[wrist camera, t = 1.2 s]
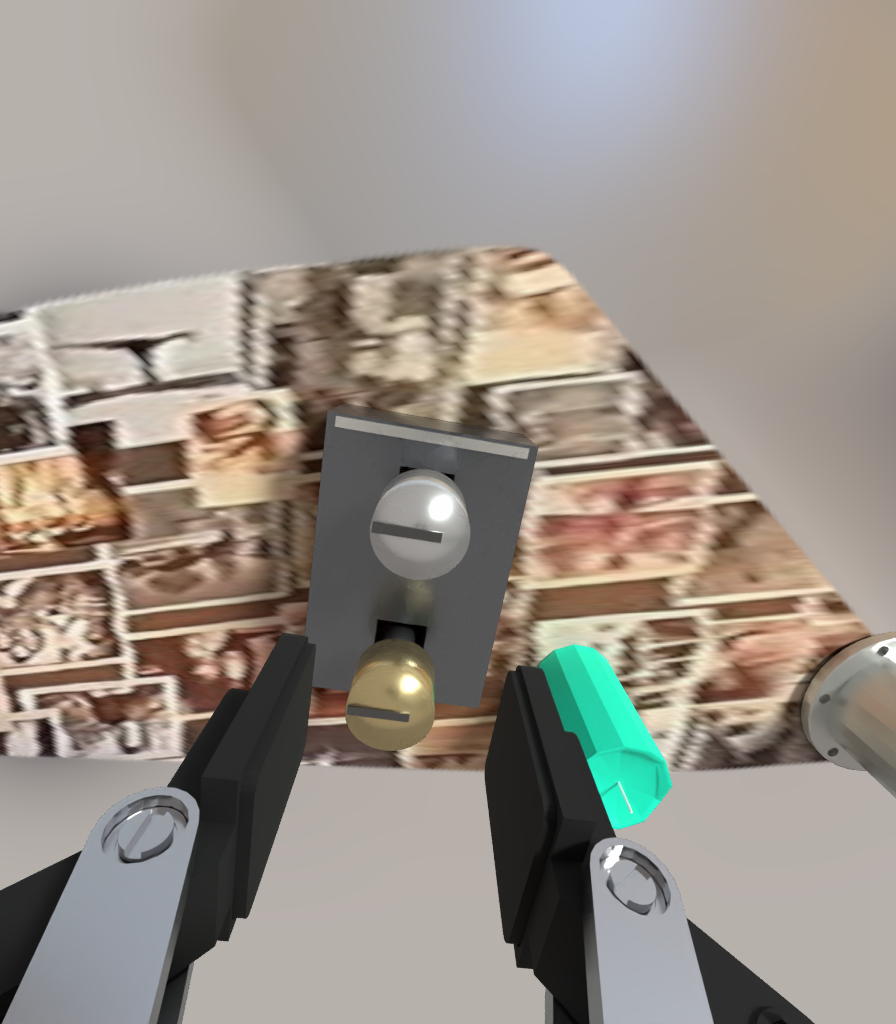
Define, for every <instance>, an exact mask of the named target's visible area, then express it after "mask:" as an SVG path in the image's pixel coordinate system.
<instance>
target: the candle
mask: <svg viewBox="0 0 896 1024" xmlns="http://www.w3.org/2000/svg"><path fill="white" fill-rule="evenodd" d="M539 668H541V669H543V671H544V673H545V676H546V679H547V682H548V685H549V687H550V690H551V693H552V696H553V699H554V702H555V704H556V707H557V710H558V713H559V716H560V719H561V721H562V724H563V727H564V730H565V731H569V732H574V733H575V734H576V735H577V737H578V739H579V741H580V744H581V746H582V749H583V752H584V754H585V757H586V759H587V762H588V765H589V767H590V770H591V772H592V775H593V778H594V780H595V783H596V786H597V788H598V791H599V793H600V796H601V799H602V801H603V804H604V807H605V809H606V812H607V814H608V817H609V820H610V822H611V825H612V828H613V829H622V828H625V827H628V826H631V825H635V824H638V823H641V822H644V820H645V819H646V818H647V817H648V816H649V815H650V813H651V812H652V811H653V810H654V809H655V808H656V807H657V805H658V804H659V803H660V801H662V799H663V798H664V797H665V795H666V794H667V792H668V791H669V790H670V788H671V787H672V782H671V779H670V775H669V772H668V768H667V764H666V761H665V760H664V758H663V756H662V754H661V753H660V751H659V749H658V748H657V746H656V744H655V742H654V741H653V739H652V737H651V735H650V734H649V732H648V730H647V729H646V727H645V725H644V723H643V722H642V720H641V718H640V716H639V715H638V713H637V711H636V709H635V708H634V706H633V704H632V703H631V701H630V699H629V697H628V696H627V694H626V692H625V690H624V689H623V687H622V685H621V684H620V682H619V680H618V678H617V677H616V675H615V673H614V671H613V670H612V668H611V666H610V664H609V663H608V661H607V659H605V658H604V657H603V656H602V655H601V654H600V653H598V652H597V651H596V650H595V649H594V648H590V647H585V646H580V645H571V646H567V647H564V648H560V649H556V650H554V651H553V652H552V653H551V654H550V655H549V656H547V657H546V658H545V659H544V660H543V661H542V662H541V663H540V665H539Z"/></svg>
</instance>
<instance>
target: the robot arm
mask: <svg viewBox="0 0 896 1024" xmlns="http://www.w3.org/2000/svg"><path fill="white" fill-rule="evenodd" d="M315 654H316V644H311V643H308V636H302V635H294V634H287V633H283V634H282V635H281V637H280V638H279V640H278V642H277V644H276V645H275V647H274V649H273V651H272V652H271V654H270V656H269V658H268V659H267V661H266V663H265V665H264V667H263V668H262V670H261V672H260V674H259V675H258V677H257V679H256V681H255V682H254V684H253V686H252V688H251V689H250V691H249V690H241V689H234V688H232V689H230V690H229V691H228V692H227V693H226V695H225V696H224V698H223V699H222V701H221V702H220V704H219V705H218V707H217V709H216V710H215V712H214V713H213V715H212V717H211V718H210V720H209V721H208V723H207V724H206V726H205V728H204V729H203V731H202V732H201V734H200V735H199V737H198V739H197V740H196V742H195V743H194V745H193V747H192V748H191V750H190V751H189V753H188V754H187V756H186V758H185V759H184V761H183V762H182V764H181V765H180V767H179V769H178V770H177V772H176V773H175V775H174V777H173V778H172V780H171V782H170V783H169V784H168V786H167V787H158V788H152V789H147V790H143V791H140V792H138V793H135V794H133V795H130V796H128V797H126V798H125V799H123V800H121V801H120V802H118V803H117V804H115V805H113V806H112V807H111V808H110V809H109V810H108V811H107V812H106V813H105V814H104V815H103V816H102V817H101V818H100V819H99V820H98V822H97V823H96V825H95V827H94V828H93V830H92V831H91V833H90V835H89V838H88V840H87V842H86V844H85V846H84V848H83V850H82V851H80V852H78V853H76V854H74V855H72V856H70V857H68V858H66V859H64V860H62V861H59V862H57V863H55V864H53V865H51V866H49V867H47V868H45V869H43V870H41V871H39V872H37V873H35V874H33V875H31V876H29V877H27V878H25V879H23V880H21V881H19V882H17V883H15V884H13V885H11V886H9V887H6V888H5V889H3V890H0V1024H182V1020H183V1015H184V1010H185V1005H186V1000H187V995H188V990H189V985H190V980H191V975H192V970H193V966H194V961H195V960H196V959H198V958H199V957H201V956H202V955H203V954H205V953H206V952H208V951H209V950H210V949H212V948H213V947H214V946H215V944H216V942H217V940H219V941H229V938H230V934H231V932H232V929H233V927H234V924H235V921H236V918H245V919H246V918H247V917H248V915H249V913H250V910H251V908H252V905H253V902H254V899H255V896H256V893H257V890H258V887H259V884H260V881H261V878H262V875H263V872H264V869H265V866H266V863H267V860H268V857H269V854H270V851H271V848H272V845H273V842H274V839H275V836H276V834H277V831H278V828H279V825H280V822H281V818H282V816H283V813H284V810H285V807H286V804H287V801H288V798H289V795H290V792H291V789H292V786H293V783H294V780H295V777H296V774H297V771H298V768H299V765H300V762H301V759H302V756H303V753H304V748H305V743H306V736H307V727H308V718H309V708H310V699H311V690H312V681H313V672H314V663H315ZM801 721H802V727H803V731H804V733H805V735H806V737H807V739H808V741H809V742H810V743H811V744H812V745H813V747H814V748H815V749H816V750H817V751H818V752H819V753H820V754H821V755H822V756H823V757H824V758H826V759H827V760H829V761H830V762H832V763H834V764H836V765H838V766H841V767H844V768H847V769H852V770H860V771H868V772H869V773H870V774H871V775H872V776H873V777H874V778H875V779H876V780H877V781H878V782H879V783H880V784H881V785H882V786H883V787H884V788H886V789H887V790H888V791H889V792H890V793H891V794H892V795H893V796H894V797H895V798H896V632H888V633H883V634H878V635H874V636H871V637H868V638H865V639H863V640H860V641H858V642H856V643H854V644H852V645H850V646H848V647H846V648H845V649H843V650H842V651H840V652H839V653H838V654H836V655H835V656H834V657H832V658H831V659H830V660H829V661H828V662H827V663H826V664H825V665H824V666H823V667H822V668H821V669H820V670H819V672H818V673H817V674H816V676H815V677H814V678H813V680H812V681H811V683H810V685H809V687H808V689H807V691H806V693H805V696H804V700H803V703H802V710H801ZM485 785H486V793H487V802H488V809H489V819H490V827H491V836H492V844H493V852H494V860H495V869H496V878H497V886H498V894H499V903H500V911H501V919H502V928H503V935H504V939H505V942H506V943H510V944H514V950H515V958H516V965H517V967H518V968H528V969H533V970H534V975H535V976H536V977H537V978H538V979H539V981H540V982H541V983H542V984H543V985H544V986H545V987H546V992H545V1024H814V1023H813V1022H812V1021H811V1020H810V1019H809V1018H808V1017H807V1016H805V1015H804V1014H803V1013H802V1012H800V1011H799V1010H798V1009H797V1008H796V1007H794V1006H793V1005H792V1004H791V1003H790V1002H788V1001H787V1000H786V999H785V998H784V997H782V996H781V995H780V994H779V993H777V992H776V991H775V990H774V989H773V988H771V987H770V986H769V985H768V984H766V983H765V982H764V981H763V980H762V979H760V978H759V977H758V976H757V975H755V974H754V973H753V972H752V971H751V970H749V969H748V968H747V967H746V966H745V965H743V964H742V963H741V962H740V961H738V960H737V959H736V958H735V957H734V956H732V955H731V954H730V953H729V952H728V951H726V950H725V949H724V948H723V947H721V946H720V945H719V944H718V943H717V942H715V941H714V940H713V939H712V938H710V937H709V936H708V935H707V934H706V933H704V932H703V931H702V930H701V929H700V928H698V927H697V926H696V925H695V924H693V923H692V922H691V921H690V920H689V919H687V918H686V915H685V911H684V907H683V904H682V899H681V896H680V892H679V890H678V887H677V885H676V882H675V880H674V878H673V877H672V875H671V874H670V872H669V871H668V869H667V868H666V866H665V865H664V864H663V863H662V862H661V861H660V860H659V859H658V858H657V857H656V856H655V855H654V854H652V853H651V852H649V851H648V850H647V849H645V848H644V847H642V846H641V845H639V844H637V843H634V842H632V841H630V840H627V839H622V838H616V835H615V833H614V830H613V828H612V825H611V822H610V820H609V817H608V814H607V812H606V809H605V807H604V804H603V801H602V799H601V796H600V793H599V791H598V788H597V786H596V783H595V780H594V778H593V775H592V772H591V770H590V767H589V765H588V762H587V759H586V757H585V754H584V752H583V749H582V746H581V744H580V741H579V739H578V737H577V735H576V734H575V733H574V732H569V731H565V730H564V727H563V724H562V721H561V719H560V716H559V713H558V710H557V707H556V704H555V702H554V699H553V696H552V693H551V690H550V687H549V685H548V682H547V679H546V676H545V673H544V671H543V669H541V668H534V667H527V666H520V665H519V666H517V668H516V671H509V672H508V674H507V677H506V681H505V685H504V689H503V694H502V698H501V702H500V706H499V710H498V714H497V718H496V722H495V726H494V731H493V735H492V739H491V743H490V747H489V751H488V755H487V759H486V764H485Z"/></svg>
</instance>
